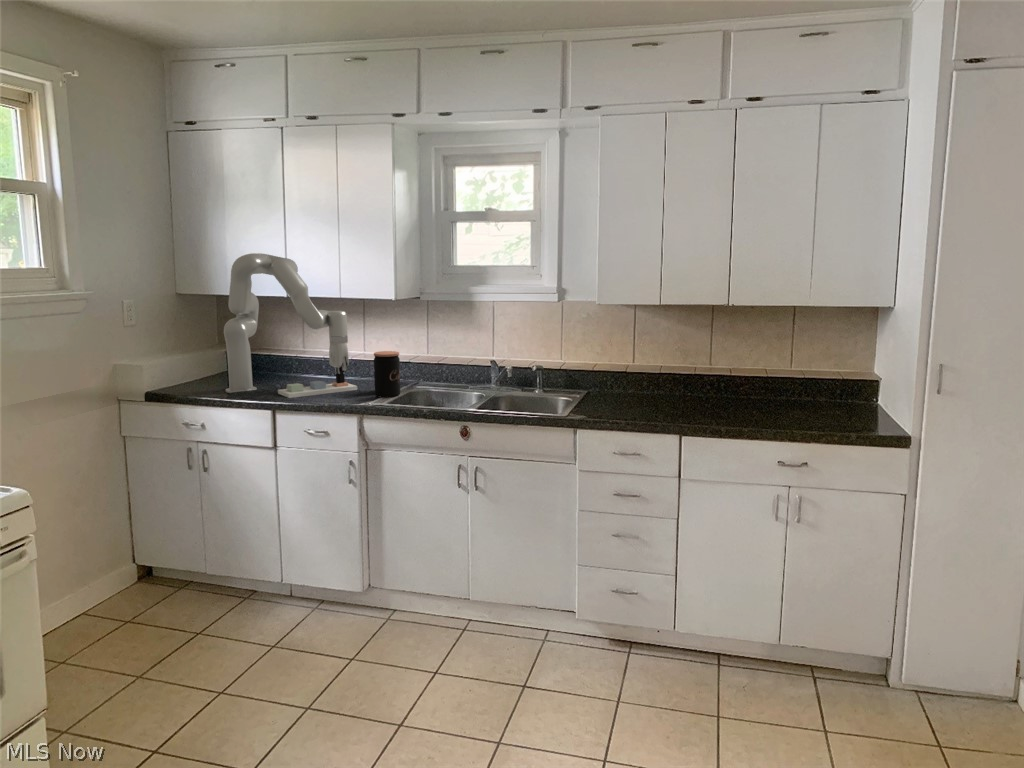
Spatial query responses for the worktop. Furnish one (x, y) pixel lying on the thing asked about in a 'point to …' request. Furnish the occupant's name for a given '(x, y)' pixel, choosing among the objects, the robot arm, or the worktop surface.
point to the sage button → (294, 387)
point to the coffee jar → (387, 373)
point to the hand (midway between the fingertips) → (340, 382)
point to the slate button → (317, 385)
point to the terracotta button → (339, 384)
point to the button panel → (309, 391)
